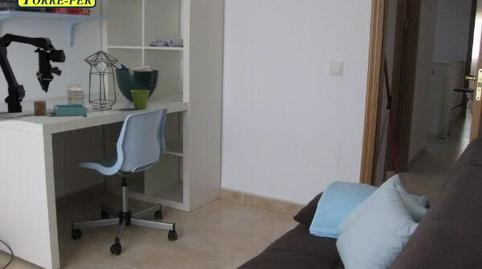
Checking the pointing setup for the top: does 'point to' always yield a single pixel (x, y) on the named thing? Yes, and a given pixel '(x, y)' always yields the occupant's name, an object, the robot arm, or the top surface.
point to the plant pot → (140, 98)
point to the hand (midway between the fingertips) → (45, 91)
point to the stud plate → (40, 115)
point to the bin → (70, 110)
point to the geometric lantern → (100, 76)
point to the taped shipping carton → (40, 107)
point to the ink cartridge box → (75, 94)
